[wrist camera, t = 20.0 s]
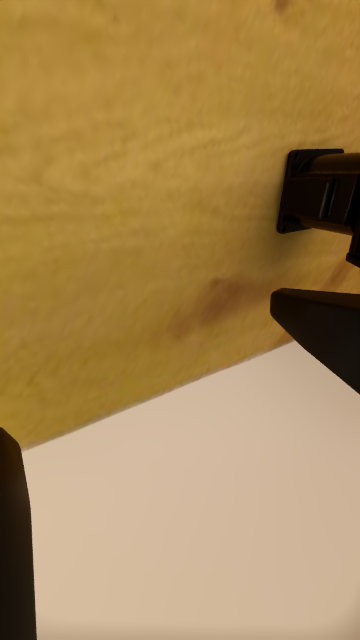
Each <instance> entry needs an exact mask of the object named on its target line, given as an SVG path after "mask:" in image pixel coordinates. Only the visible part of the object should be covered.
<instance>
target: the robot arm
mask: <svg viewBox="0 0 360 640" xmlns="http://www.w3.org/2000/svg"><path fill="white" fill-rule="evenodd" d="M282 227H283V228H282ZM310 228H315V229H321V230H326V231H331V232H336V233H341V234H346V235H351V236H352V240H351V244H350V248H349V252H348V253H347V255H346V261H348V262H349V263H351V264H353V265H355V266H357V267H359V268H360V153H344V150H343V149H302V150H292V151H291V152H290V153H289V155H288V159H287V165H286V171H285V178H284V184H283V191H282V197H281V203H280V210H279V216H278V223H277V232H278V233H281V234H285V233H290V232H295V231H300V230H305V229H310ZM270 313H271V316H272V317H273V318H274V319H275V320H276V321H277V322H278V323H279V324H280V325H281V326H282V327H283V328H284V329H285V330H286V331H287V332H288V333H289V334H290V335H291V336H292V337H293V338H294V339H295V340H296V341H297V342H298V343H299V344H300V345H301V346H302V347H303V348H304V349H305V350H306V351H308V352H309V353H310V354H311V355H313V356H314V357H315V358H316V359H317V360H319V361H320V362H321V363H322V364H324V365H325V366H326V367H327V368H328V369H330V370H331V371H332V372H333V373H334V374H336V375H337V376H338V377H339V378H340V379H342V380H343V381H344V382H345V383H346V384H348V385H349V386H350V387H351V388H352V389H354V390H355V391H356V392H357V393H359V394H360V294H350V293H338V292H326V291H314V290H301V289H289V288H280V289H278V290H276V291H274V292H272V294H271V298H270ZM32 548H33V547H32V525H31V508H30V500H29V494H28V488H27V482H26V476H25V471H24V465H23V459H22V453H21V448H20V446H19V444H18V442H17V441H16V440H15V439H14V438H13V437H12V436H11V435H9V434H8V433H7V432H6V431H5V430H4V429H3V428H2V427H0V640H37V634H36V613H35V591H34V570H33V549H32Z"/></svg>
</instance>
